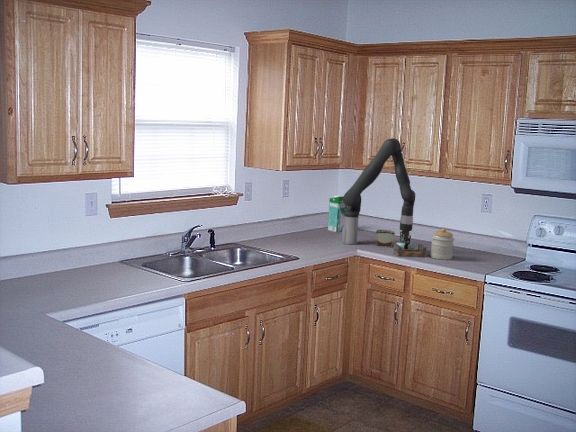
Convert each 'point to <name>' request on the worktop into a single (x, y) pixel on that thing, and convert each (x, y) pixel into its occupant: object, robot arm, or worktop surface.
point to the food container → (385, 237)
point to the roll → (410, 246)
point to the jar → (442, 245)
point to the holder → (409, 251)
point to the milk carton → (336, 214)
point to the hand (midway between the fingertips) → (404, 249)
